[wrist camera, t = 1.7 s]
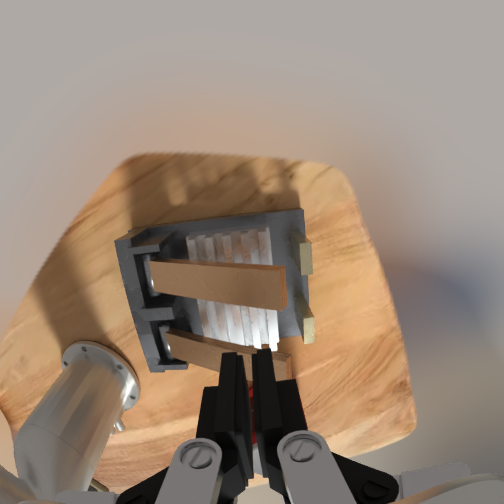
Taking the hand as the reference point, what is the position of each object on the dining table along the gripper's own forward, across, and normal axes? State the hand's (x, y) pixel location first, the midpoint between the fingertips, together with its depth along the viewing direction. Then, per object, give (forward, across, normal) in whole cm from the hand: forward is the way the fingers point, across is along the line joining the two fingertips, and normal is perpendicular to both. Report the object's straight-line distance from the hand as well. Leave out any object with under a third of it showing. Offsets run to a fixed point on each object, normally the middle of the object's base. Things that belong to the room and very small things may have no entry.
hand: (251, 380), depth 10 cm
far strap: (+13, +3, +7) cm, 15 cm away
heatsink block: (+21, +3, +4) cm, 22 cm away
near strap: (+13, +3, 0) cm, 13 cm away
